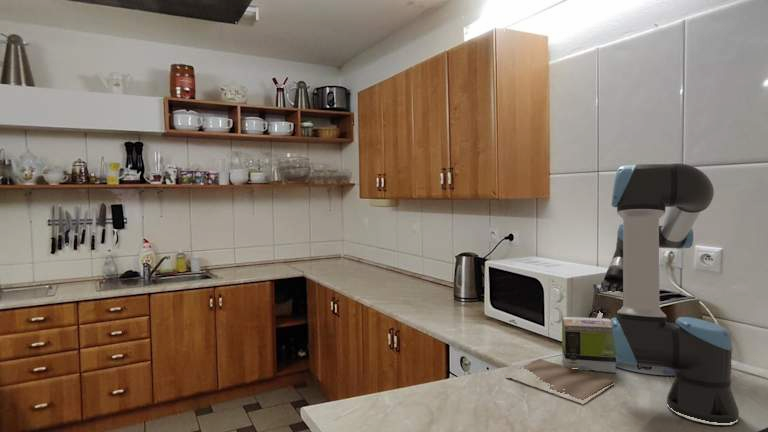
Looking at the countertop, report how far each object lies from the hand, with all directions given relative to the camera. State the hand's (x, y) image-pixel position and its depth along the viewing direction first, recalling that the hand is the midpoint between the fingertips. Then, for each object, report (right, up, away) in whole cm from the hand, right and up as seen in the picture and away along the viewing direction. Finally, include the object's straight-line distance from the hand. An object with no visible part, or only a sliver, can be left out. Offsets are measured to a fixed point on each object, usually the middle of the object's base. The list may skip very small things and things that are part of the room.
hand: (596, 328), depth 153 cm
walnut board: (-19, -12, -16) cm, 27 cm away
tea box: (-5, -11, -4) cm, 13 cm away
